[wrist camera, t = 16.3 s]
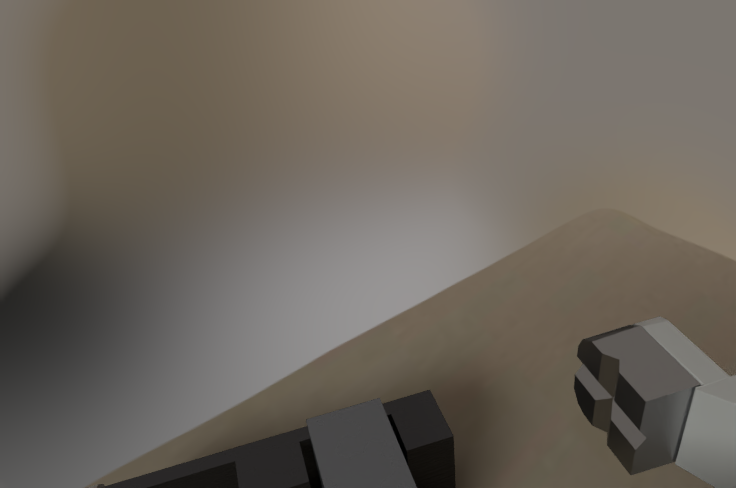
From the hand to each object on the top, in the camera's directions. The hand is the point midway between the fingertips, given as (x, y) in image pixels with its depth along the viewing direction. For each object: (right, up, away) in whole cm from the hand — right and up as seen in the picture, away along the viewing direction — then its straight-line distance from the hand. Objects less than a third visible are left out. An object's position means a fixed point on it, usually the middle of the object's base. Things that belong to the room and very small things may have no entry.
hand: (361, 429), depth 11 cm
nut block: (+1, -17, +29) cm, 34 cm away
